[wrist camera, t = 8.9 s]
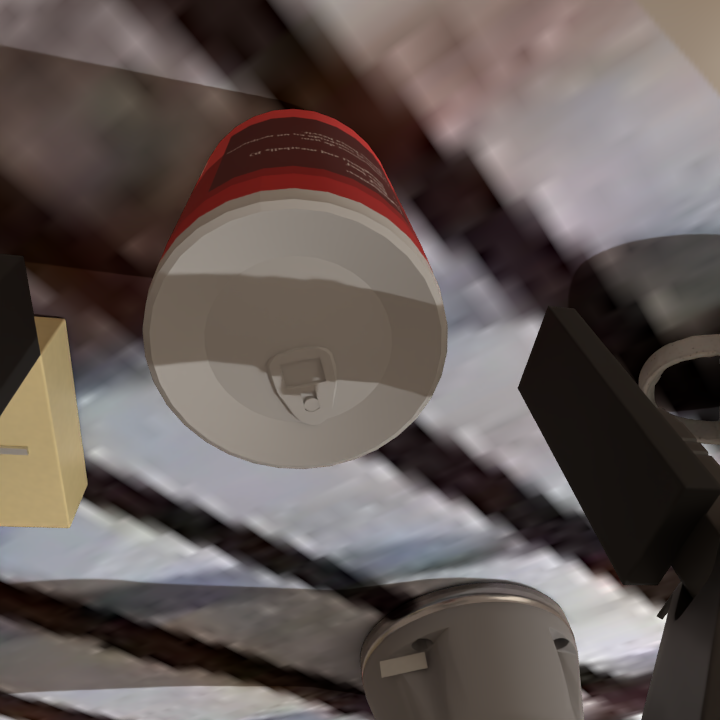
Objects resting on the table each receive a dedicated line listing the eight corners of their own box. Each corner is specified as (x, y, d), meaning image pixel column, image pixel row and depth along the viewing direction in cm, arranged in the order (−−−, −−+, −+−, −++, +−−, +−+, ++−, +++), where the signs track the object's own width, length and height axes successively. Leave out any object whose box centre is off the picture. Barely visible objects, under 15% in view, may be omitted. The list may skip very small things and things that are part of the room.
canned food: (264, 323, 26) (249, 507, 17) (158, 162, 22) (62, 292, 13) (420, 251, 25) (492, 407, 16) (339, 65, 21) (374, 133, 12)
